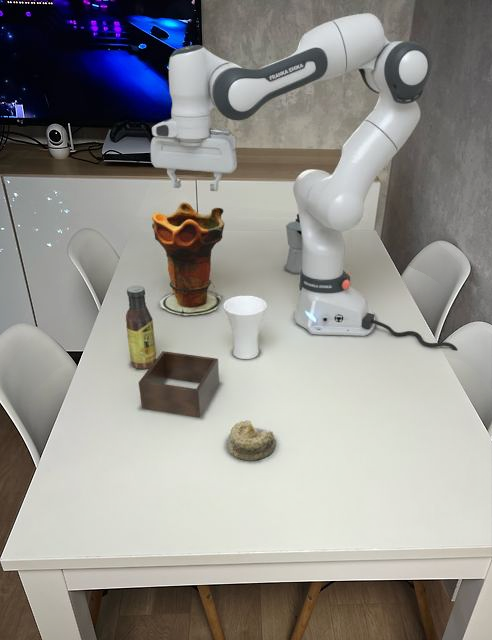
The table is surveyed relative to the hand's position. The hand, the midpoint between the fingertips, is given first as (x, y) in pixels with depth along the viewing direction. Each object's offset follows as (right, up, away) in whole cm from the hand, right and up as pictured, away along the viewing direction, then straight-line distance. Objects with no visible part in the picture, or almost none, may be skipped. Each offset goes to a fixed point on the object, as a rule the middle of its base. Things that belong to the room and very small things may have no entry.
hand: (195, 188), depth 146 cm
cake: (+14, -59, -21) cm, 65 cm away
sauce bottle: (-13, -42, +4) cm, 44 cm away
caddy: (-2, -49, -7) cm, 50 cm away
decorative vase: (-5, -23, +33) cm, 40 cm away
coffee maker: (+27, -8, +55) cm, 62 cm away
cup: (+12, -39, +9) cm, 42 cm away
